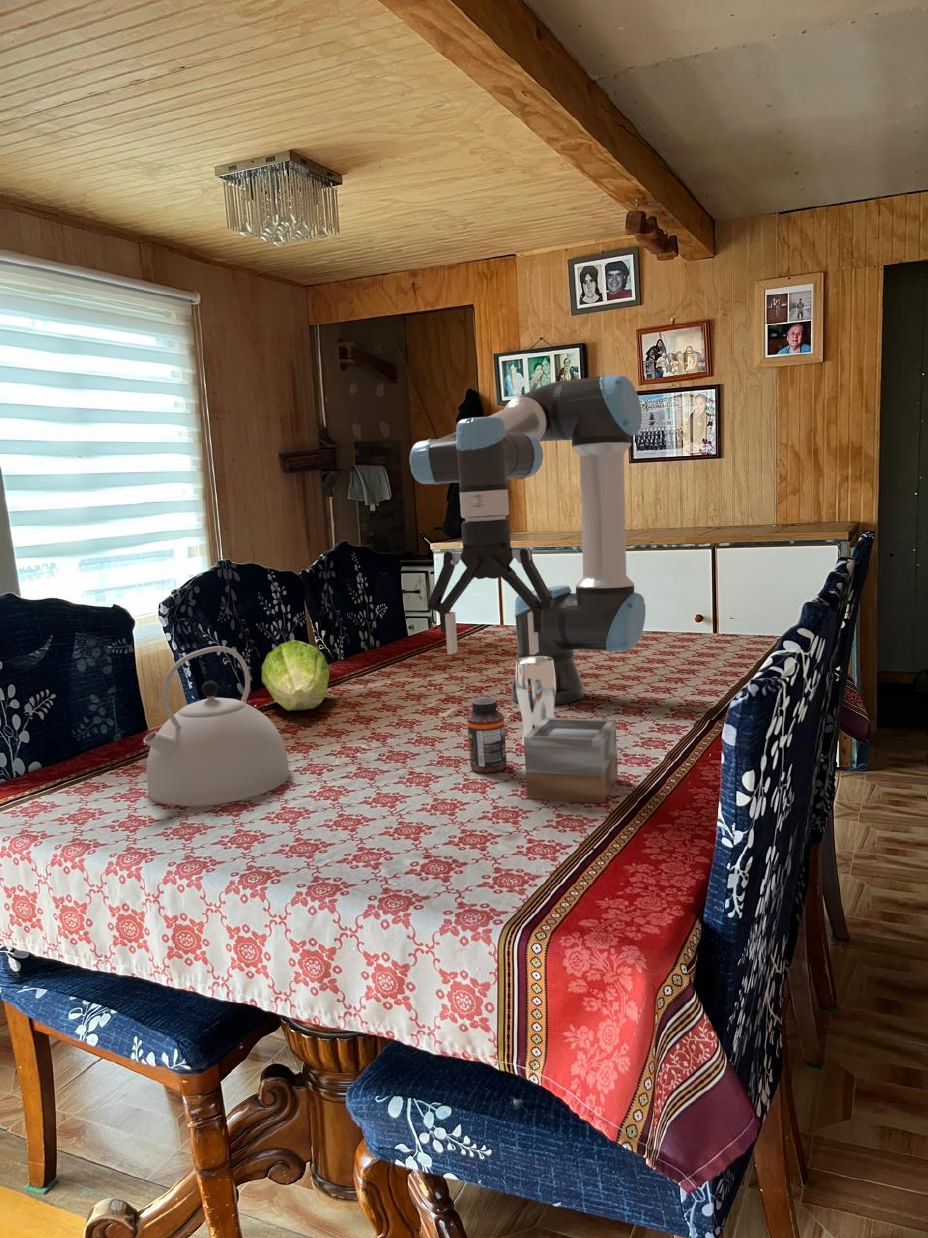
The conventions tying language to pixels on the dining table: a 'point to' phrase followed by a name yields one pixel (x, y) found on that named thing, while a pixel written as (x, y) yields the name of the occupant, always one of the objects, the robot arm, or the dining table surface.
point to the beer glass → (535, 690)
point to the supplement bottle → (486, 737)
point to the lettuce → (296, 675)
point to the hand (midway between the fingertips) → (492, 653)
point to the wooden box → (571, 759)
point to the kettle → (214, 748)
